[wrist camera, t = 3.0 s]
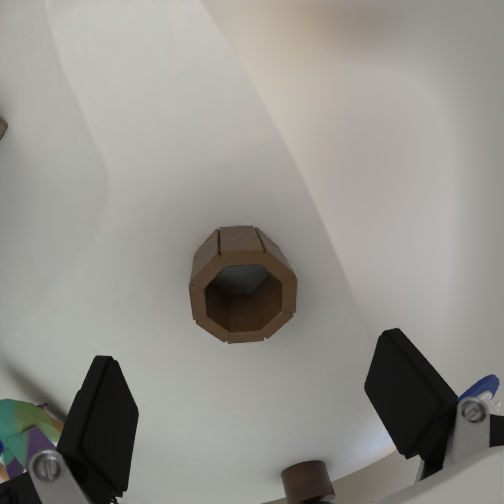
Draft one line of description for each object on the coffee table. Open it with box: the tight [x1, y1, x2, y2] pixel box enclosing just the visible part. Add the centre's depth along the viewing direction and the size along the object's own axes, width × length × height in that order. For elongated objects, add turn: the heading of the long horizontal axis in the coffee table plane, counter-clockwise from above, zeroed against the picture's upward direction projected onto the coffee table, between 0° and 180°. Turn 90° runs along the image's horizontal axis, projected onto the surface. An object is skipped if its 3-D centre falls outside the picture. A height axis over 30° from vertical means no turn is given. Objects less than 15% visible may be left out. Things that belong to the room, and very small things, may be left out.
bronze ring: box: [189, 226, 297, 344], centre depth 17 cm, size 6×6×4 cm
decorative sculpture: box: [0, 399, 64, 479], centre depth 15 cm, size 17×18×15 cm
